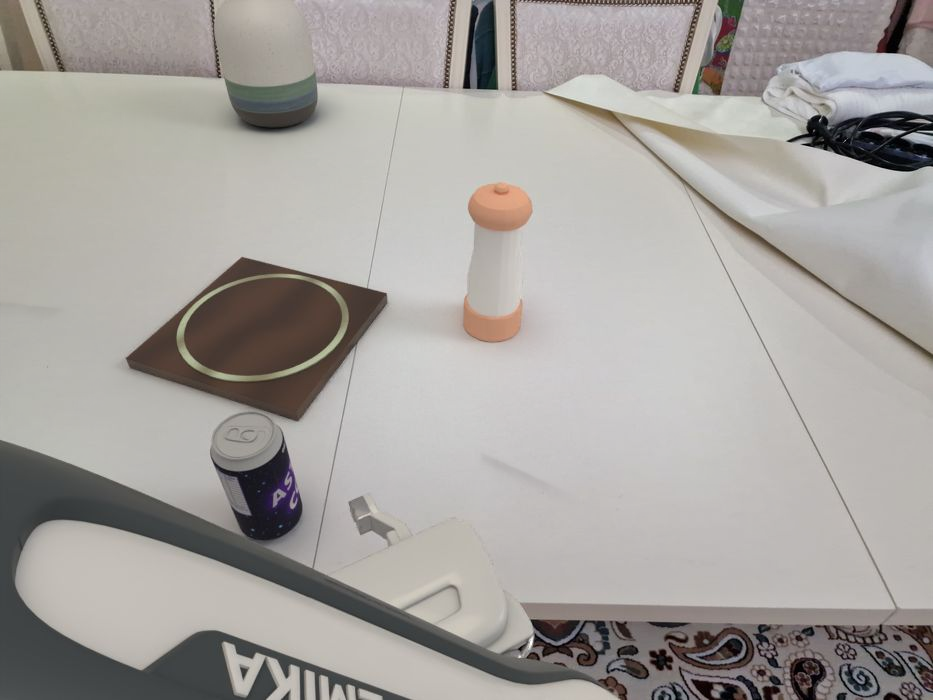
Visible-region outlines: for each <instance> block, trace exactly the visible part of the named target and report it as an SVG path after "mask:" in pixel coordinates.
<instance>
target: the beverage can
mask: <svg viewBox="0 0 933 700" xmlns="http://www.w3.org/2000/svg"><path fill="white" fill-rule="evenodd" d="M209 455H210V459H211V461H212V464H213V466H214V469H215V471H216V473H217V476H218V478H219V481H220V483H221V486H222V488H223V491H224V493H225V496H226V498H227V501H228V503H229V505H230V507H231V511H232V512H233V515H234V517H235V521H236V522H237V525H238V526H239V529H240V531H241V532H242V534H243V535H245V536H246V537H248V539H250V540H251V539H252V540H255V541H259V542H260V541H261V542H264V541H265V542H267V541H272V540H277V539H279V538H281V537H283V536H285V535H287V534H288V533H290V532H291V531H292V530H293V529H294V528H295V527H296V526H297V524H298V523H299V521H300V519H301V517H302V514H303V502H302V498H301V494H300V490H299V487H298V484H297V479H296V476H295V475H296V474H295V472H294V468H293V464H292V461H291V457H290V454H289V450H288V446H287V442H286V439H285V435H284V432H283V430H282V428H281V427H280V426H279V425H278V423H276V422H275V421H274V419H273V418H272V417H271V416H270V415H268V414H267V413H265V412H261V411H257V410H245V411H240V412H236V413H234V414H232V415H229V416H228V417H226V418H224V419H223V420H222V421H221V422H219V424H218V425H216V427H215V429H214V430H213V432H212V435H211V445H210V449H209Z"/></svg>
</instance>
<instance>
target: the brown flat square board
mask: <svg viewBox="0 0 933 700" xmlns="http://www.w3.org/2000/svg"><path fill="white" fill-rule="evenodd" d="M387 304H388V293H387V292H384V291H379V290H376V289H372V288H369V287H364V286H359V285H356V284H353V283H348V282H343V281H341V280H336V279H332V278H328V277H324V276H320V275H318V274H317V275H316V274H312V273H308V272H304V271H300V270H296V269H292V268H290V267H284V266H281V265H277V264H272V263H268V262H265V261H260V260H256V259H253V258H249V257H244V256H241V257H240V258H238V260H236V261H235V262H234V263H233V264H232V265H231V266H230V267H228V268H227V269H226V270H225V271H224V272H223V273H221V274H220V275H219V276H218V277H217V278H215V280H213V281H212V282H211V283H210V284H209V285H207V287H205V288H204V289H203V290H202V291H201V292H200V293H198V294H197V295H196V296H195V297H194V298H193V299H192V300H191V301H189V302H188V303H187V304H186V305H185V306H184V307H182V309H180V310H179V311H178V312H177V313H175V315H173V316H171V317H170V319H169V320H167V321H166V322H165V323H164V324H162V326H161V327H159V328H158V329H157V330H156V331H155V332H154V333H153V334H151V335H150V336H149V337H147V339H146V340H145V341H143V343H141V344H140V345H139V346H138V347H136V348H135V349H134V350H133V351H132V352H131V353H130V354H129V355H127V356H126V357H125V360H126V362H127V365H128V367H129V368H130V369H133V370H136V371H139V372H143V373H146V374H149V375H151V376H155V377H158V378H162V379H164V380H168V381H171V382H174V383H177V384H180V385H183V386H187V387H189V388H193V389H196V390H200V391H202V392H206V393H209V394H212V395H215V396H217V397H218V396H219V397H221V398H225V399H228V400H231V401H234V402H237V403H240V404H244V405H246V406H250V407H253V408H256V409H258V410H263V411H265V412H269V413H272V414H275V415H278V416H282V417H285V418H288V419H291V420H294V421H297V422H298V421H300V419H301V418H302V417H303V415H304V414H305V413H306V411H307V410H308V408H309V407H310V406H311V405H312V403H313V402H314V400H315V399H316V398H317V397H318V395H319V394H320V392H321V391H322V390H323V388H325V386H326V385H327V383H328V382H329V380H331V378H332V377H333V376H334V374H335V373H336V371H337V370H338V369H339V368H340V366H341V365H342V363H343V362H344V360H345V359H347V357H348V355H349V354H350V353H351V351H352V350H353V349H354V348H355V346H356V345H357V343H358V342H359V341H360V340H361V338H362V337H363V335H364V334H365V333H366V331H367V330H368V329H369V327H370V326H371V325H372V324H373V322H374V321H375V319H376V318H377V317H378V316H379V314H380V313H381V312H382V310H383V309H384V308H385V306H386V305H387Z"/></svg>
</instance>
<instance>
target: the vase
mask: <svg viewBox="0 0 933 700" xmlns="http://www.w3.org/2000/svg"><path fill="white" fill-rule="evenodd" d="M310 31H311V30H310V26H309V23H308V21H307V19H306V16H305V14H304V13H303V11H302V10H301V8H300V7H299V6H298V5H297V4H296V3H295V2H294V1H292V0H224V1H223V2H222V3H221V4H220V6H219V7H218V9H217V11H216V13H215V16H214V23H213V33H214V39H215V40H214V41H215V44H216V49H217V53H218V58H219V61H220V66H221V70H222V75H223V79H224V83H225V87H226V91H227V94H228V95H227V96H228V98H229V101H230V105H231V107H232V108H233V110H234V111H235V113H236V115H237V116H238V117H239V118H240V119H241V120H243V121H244V122H246V123H247V124H250V125H252V126H257V127H263V128H274V129H275V128H284V127H290V126H294V125H298V124H300V123H302V122H305V121H306V120H308V119H309V118H310V117H311V116H313V114H314V113H315V110H316V108H317V104H318V99H319V98H318V96H319V95H318V94H319V93H318V81H317V75H316V66H315V59H314V51H313V45H312V37H311V32H310Z"/></svg>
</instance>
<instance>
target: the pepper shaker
mask: <svg viewBox="0 0 933 700" xmlns="http://www.w3.org/2000/svg"><path fill="white" fill-rule="evenodd" d="M467 203H468V204H467V210H468V214H469V216H470V217H471V220H472V221H473V223H474V229H473V230H474V232H473V247H472V253H471V258H470V261H469V265H468V266H469V267H468V270H467V277H466V278H467V279H466V295H465V296H464V298H463V313H462V314H463V316H462V317H463V318H462V325H463V328H464V330H465V332H466V333H468V334H469V335H470V336H472V337H473V338H475V339H478V340H479V341H483V342H490V343H498V342H499V343H500V342H504V341H505V342H506V341H507V340H509V339H511V338H513V337H514V336H516V335H517V334H518V333H519V331H520V329H521V323H522V315H523V308H524V307H523V300H522V298H521V297H522V290H523V283H524V281H523V279H524V278H523V267H522V247H523V246H522V245H523V236H524V235H523V234H524V226H525V225H526V224H527V223H528V221H529V220H530V218H531V217H532V214H533V204H532V203H533V202H532V200H531V198H530V197H529V195H528V193H527V192H526V191H525V190H524V189H522V188H520V187H518V186H516V185H513V184H508V183H506V182H497V183H489V184H485V185H482V186H480V187H479V188H477V189H476V190H475V191H474V193H472V195H471V196H470V198H469V200H468V202H467Z"/></svg>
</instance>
